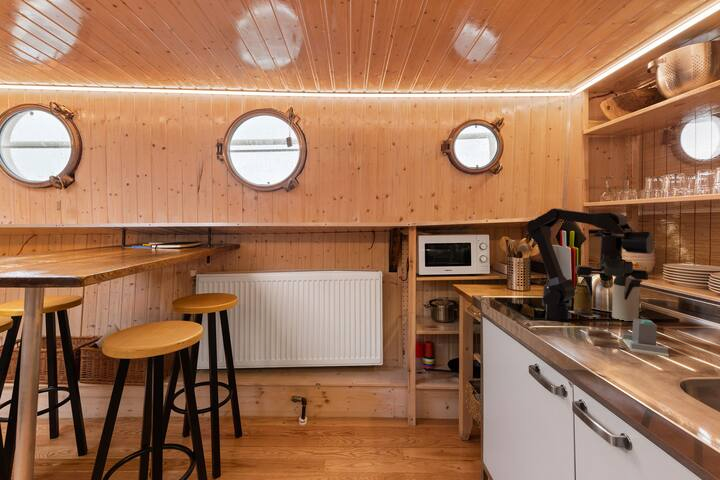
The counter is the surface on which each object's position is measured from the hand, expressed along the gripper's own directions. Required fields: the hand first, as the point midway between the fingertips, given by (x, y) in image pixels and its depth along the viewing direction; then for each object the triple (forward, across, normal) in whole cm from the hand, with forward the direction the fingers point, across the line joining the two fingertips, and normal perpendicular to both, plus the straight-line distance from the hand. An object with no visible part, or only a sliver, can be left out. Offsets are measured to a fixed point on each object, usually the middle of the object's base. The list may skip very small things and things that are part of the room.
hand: (608, 297), depth 111 cm
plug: (+11, +7, -11) cm, 17 cm away
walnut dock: (+12, -3, -11) cm, 16 cm away
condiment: (+12, -3, +24) cm, 27 cm away
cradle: (+12, +7, -11) cm, 18 cm away
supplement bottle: (+12, -14, +31) cm, 36 cm away
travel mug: (+12, +10, +23) cm, 28 cm away
